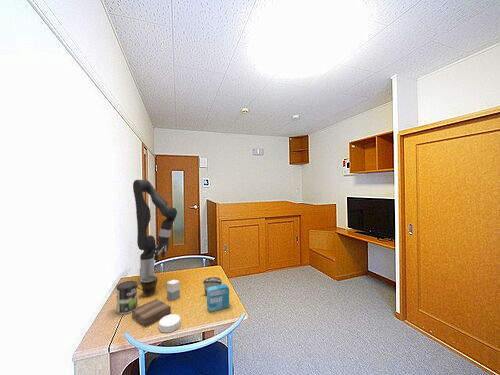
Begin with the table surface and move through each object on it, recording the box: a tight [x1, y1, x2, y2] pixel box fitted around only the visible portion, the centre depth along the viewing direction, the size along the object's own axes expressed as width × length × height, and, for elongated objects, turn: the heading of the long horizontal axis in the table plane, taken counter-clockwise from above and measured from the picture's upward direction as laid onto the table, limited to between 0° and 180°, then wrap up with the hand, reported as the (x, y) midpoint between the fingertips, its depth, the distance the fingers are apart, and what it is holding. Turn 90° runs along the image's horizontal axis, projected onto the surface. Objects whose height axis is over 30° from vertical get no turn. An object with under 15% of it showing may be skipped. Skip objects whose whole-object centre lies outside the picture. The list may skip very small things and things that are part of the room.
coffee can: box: [116, 280, 138, 315], centre depth 123 cm, size 10×10×14 cm
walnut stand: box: [131, 298, 172, 328], centre depth 117 cm, size 14×14×4 cm
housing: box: [166, 279, 181, 302], centre depth 135 cm, size 6×6×10 cm
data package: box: [206, 283, 230, 313], centre depth 123 cm, size 12×4×12 cm, turn 115°
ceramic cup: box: [137, 275, 158, 298], centre depth 139 cm, size 13×10×10 cm
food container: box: [202, 276, 223, 297], centre depth 140 cm, size 12×6×10 cm, turn 84°
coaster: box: [158, 313, 182, 333], centre depth 108 cm, size 10×10×4 cm
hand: (159, 258), depth 150 cm, fingers open, 8 cm apart
